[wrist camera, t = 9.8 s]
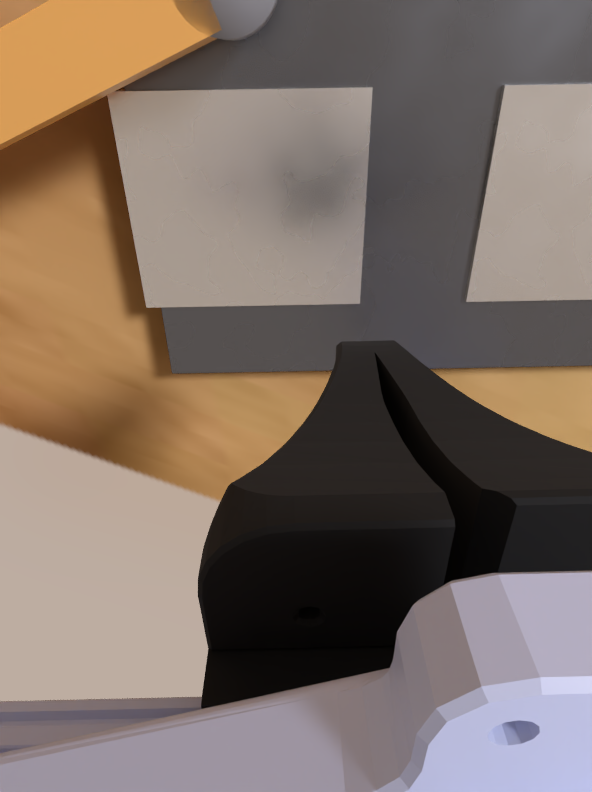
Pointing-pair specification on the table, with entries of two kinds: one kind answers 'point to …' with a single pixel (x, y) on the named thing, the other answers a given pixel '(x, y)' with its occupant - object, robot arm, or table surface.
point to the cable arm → (103, 50)
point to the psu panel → (369, 186)
